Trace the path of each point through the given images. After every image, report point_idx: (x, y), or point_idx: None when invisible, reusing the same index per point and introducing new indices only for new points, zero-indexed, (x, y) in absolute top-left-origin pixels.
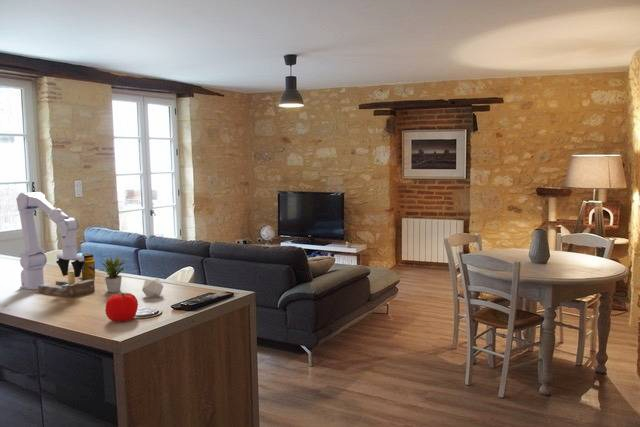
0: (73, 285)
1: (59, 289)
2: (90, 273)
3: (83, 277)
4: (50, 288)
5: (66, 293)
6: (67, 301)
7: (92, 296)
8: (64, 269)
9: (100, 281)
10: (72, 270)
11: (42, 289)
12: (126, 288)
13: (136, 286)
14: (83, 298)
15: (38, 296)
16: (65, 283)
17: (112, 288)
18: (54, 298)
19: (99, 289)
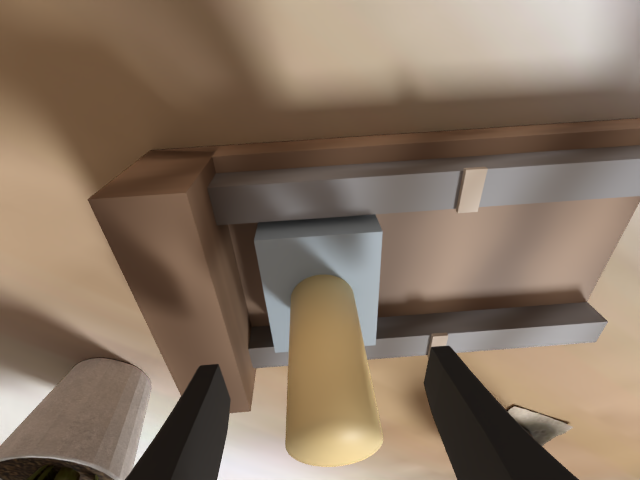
0: (110, 232)
1: (349, 173)
2: None
3: None
4: (493, 162)
5: (220, 155)
6: (13, 14)
7: (55, 252)
8: (468, 445)
9: (390, 439)
10: (354, 462)
11: (603, 144)
12: None
13: None
14: (34, 179)
15: (526, 6)
16: (483, 323)
17: (56, 387)
18: (277, 36)
19: None
